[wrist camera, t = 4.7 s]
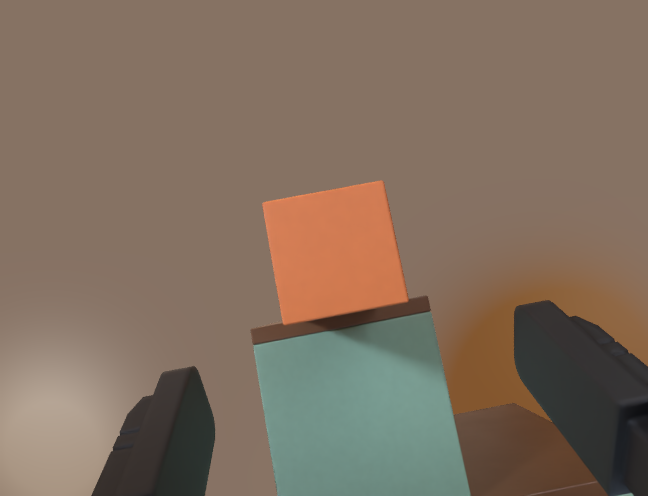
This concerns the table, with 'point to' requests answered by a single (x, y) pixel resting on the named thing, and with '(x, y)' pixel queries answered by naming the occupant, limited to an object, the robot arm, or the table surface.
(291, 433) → the stand
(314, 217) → the box
